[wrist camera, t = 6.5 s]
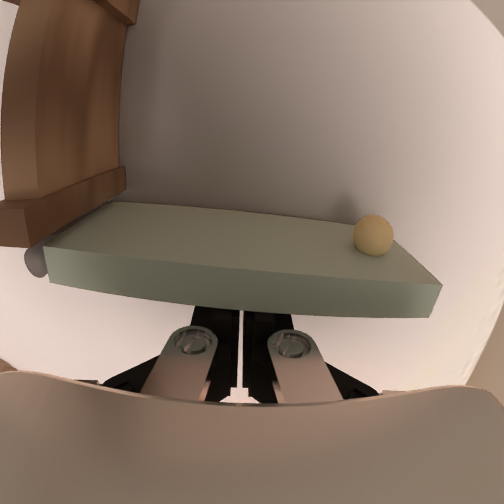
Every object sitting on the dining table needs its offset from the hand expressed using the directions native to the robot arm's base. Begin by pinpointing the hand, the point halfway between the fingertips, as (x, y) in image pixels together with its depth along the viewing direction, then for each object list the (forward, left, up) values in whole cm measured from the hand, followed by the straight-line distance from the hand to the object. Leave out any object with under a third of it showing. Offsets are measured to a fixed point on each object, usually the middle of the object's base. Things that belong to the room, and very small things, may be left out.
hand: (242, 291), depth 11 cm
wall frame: (+2, -6, -2) cm, 7 cm away
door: (-3, 0, -1) cm, 3 cm away
